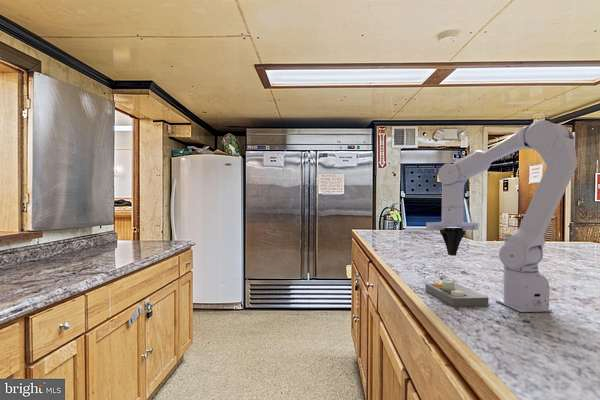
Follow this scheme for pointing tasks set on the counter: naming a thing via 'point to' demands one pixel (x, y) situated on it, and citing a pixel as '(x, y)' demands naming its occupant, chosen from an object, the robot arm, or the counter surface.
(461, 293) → the button ivory
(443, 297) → the panel
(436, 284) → the button orange
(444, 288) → the button sage
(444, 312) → the counter surface
